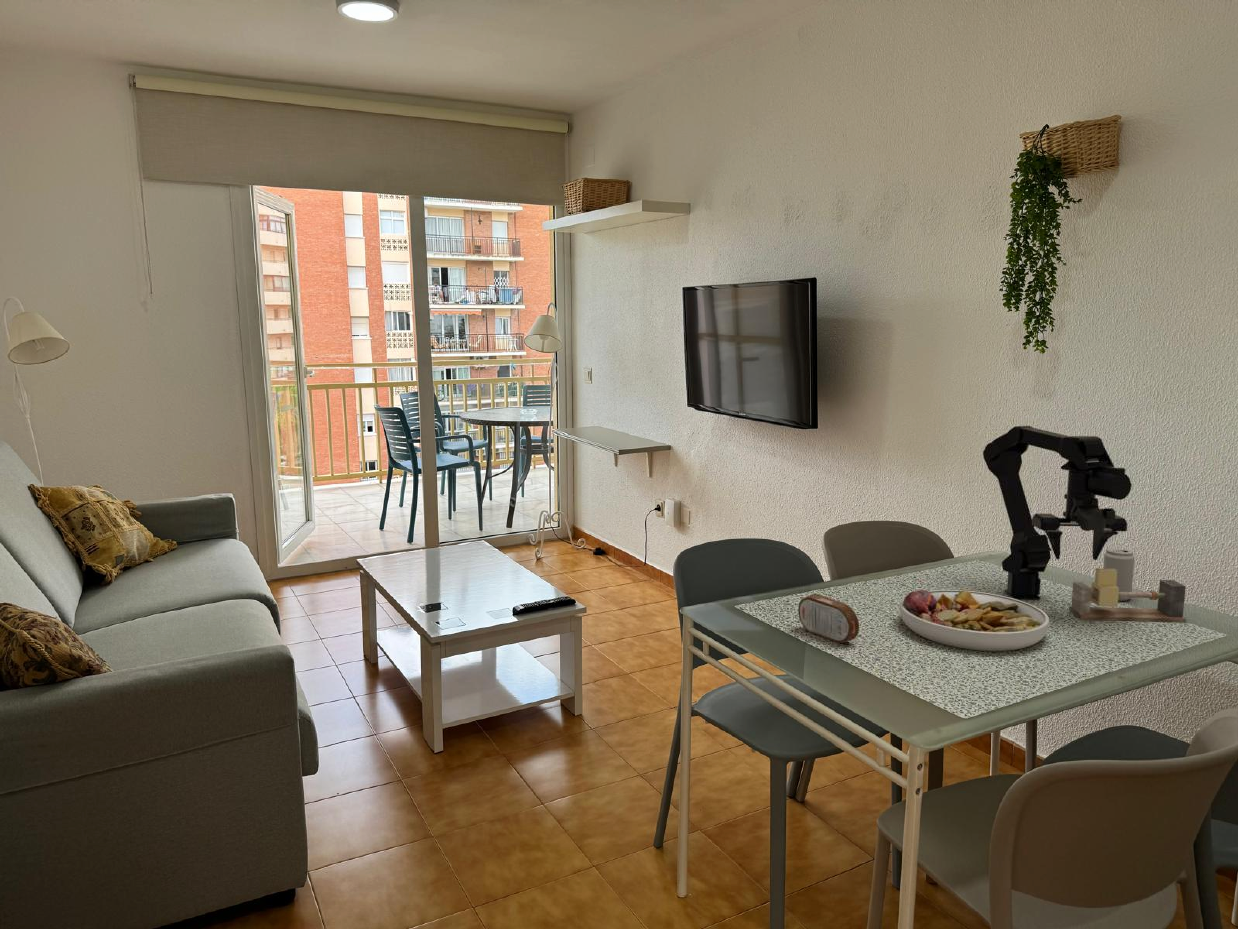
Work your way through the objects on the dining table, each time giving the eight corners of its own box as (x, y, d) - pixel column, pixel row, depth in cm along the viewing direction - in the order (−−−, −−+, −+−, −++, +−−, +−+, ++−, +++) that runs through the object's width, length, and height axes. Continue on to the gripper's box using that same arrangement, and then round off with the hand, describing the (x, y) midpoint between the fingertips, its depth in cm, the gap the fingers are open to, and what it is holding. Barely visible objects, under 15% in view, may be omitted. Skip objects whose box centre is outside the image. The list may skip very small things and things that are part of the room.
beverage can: (1136, 602, 209) (1140, 553, 208) (1109, 602, 210) (1113, 553, 208) (1122, 594, 216) (1126, 547, 214) (1095, 594, 216) (1099, 547, 214)
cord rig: (1081, 619, 197) (1084, 585, 196) (1069, 609, 204) (1071, 576, 203) (1184, 622, 195) (1188, 587, 194) (1168, 612, 202) (1171, 578, 200)
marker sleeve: (1098, 606, 197) (1101, 572, 196) (1090, 600, 202) (1093, 566, 200) (1117, 606, 197) (1120, 572, 196) (1108, 600, 201) (1111, 567, 200)
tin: (859, 645, 181) (861, 606, 180) (849, 649, 179) (850, 609, 178) (805, 626, 193) (806, 589, 192) (795, 629, 191) (796, 592, 190)
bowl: (1033, 616, 200) (1035, 583, 199) (1061, 663, 172) (1064, 625, 171) (896, 605, 208) (898, 573, 207) (901, 649, 180) (903, 612, 179)
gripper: (1053, 498, 189) (1048, 568, 191) (1143, 499, 188) (1136, 569, 190) (1033, 489, 200) (1028, 555, 202) (1117, 490, 199) (1112, 556, 201)
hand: (1076, 559), depth 199 cm, fingers open, 8 cm apart
